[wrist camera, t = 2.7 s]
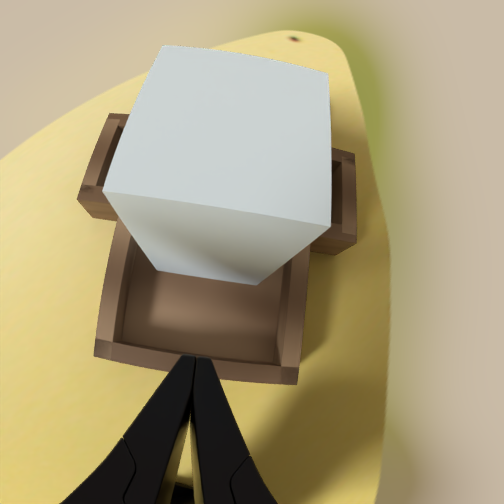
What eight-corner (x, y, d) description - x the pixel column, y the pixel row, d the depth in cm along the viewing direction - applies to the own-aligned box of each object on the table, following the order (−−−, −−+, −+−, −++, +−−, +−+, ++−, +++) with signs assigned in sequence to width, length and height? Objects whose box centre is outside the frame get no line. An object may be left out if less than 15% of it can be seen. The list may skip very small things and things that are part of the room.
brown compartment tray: (324, 378, 19) (346, 385, 16) (69, 341, 17) (47, 343, 14) (335, 125, 24) (350, 103, 21) (137, 92, 22) (133, 65, 19)
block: (256, 285, 18) (330, 227, 8) (156, 270, 18) (102, 191, 7) (266, 194, 20) (328, 73, 9) (175, 179, 19) (162, 45, 9)
